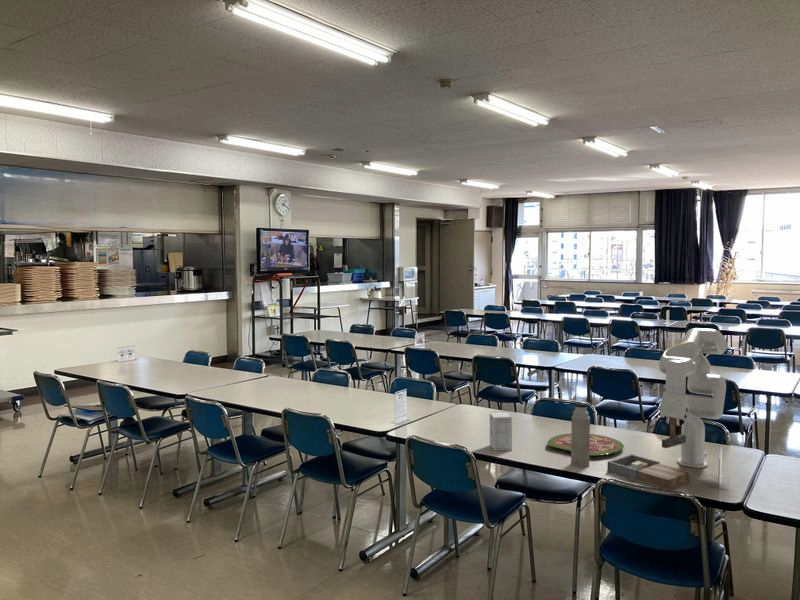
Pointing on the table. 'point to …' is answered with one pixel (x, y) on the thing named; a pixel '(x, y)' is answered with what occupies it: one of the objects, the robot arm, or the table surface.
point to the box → (628, 465)
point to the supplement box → (500, 431)
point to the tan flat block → (663, 476)
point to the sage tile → (637, 465)
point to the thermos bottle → (580, 437)
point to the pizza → (597, 444)
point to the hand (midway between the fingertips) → (674, 433)
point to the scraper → (673, 436)
